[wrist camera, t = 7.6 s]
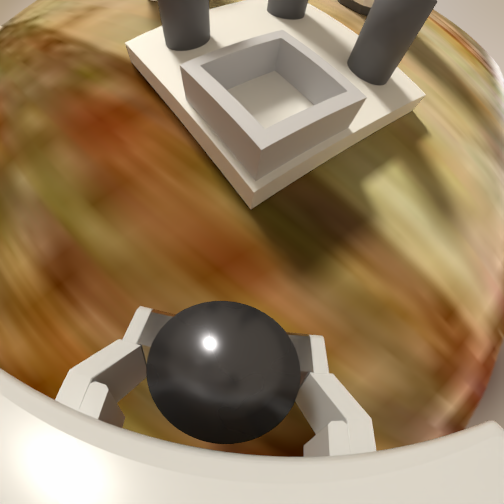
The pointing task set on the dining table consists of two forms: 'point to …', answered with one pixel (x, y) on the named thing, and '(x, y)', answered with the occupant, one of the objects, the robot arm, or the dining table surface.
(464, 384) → the dining table surface
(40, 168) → the dining table surface
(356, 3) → the wine bottle
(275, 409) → the dark rounded cylinder
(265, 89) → the white board with pegs
